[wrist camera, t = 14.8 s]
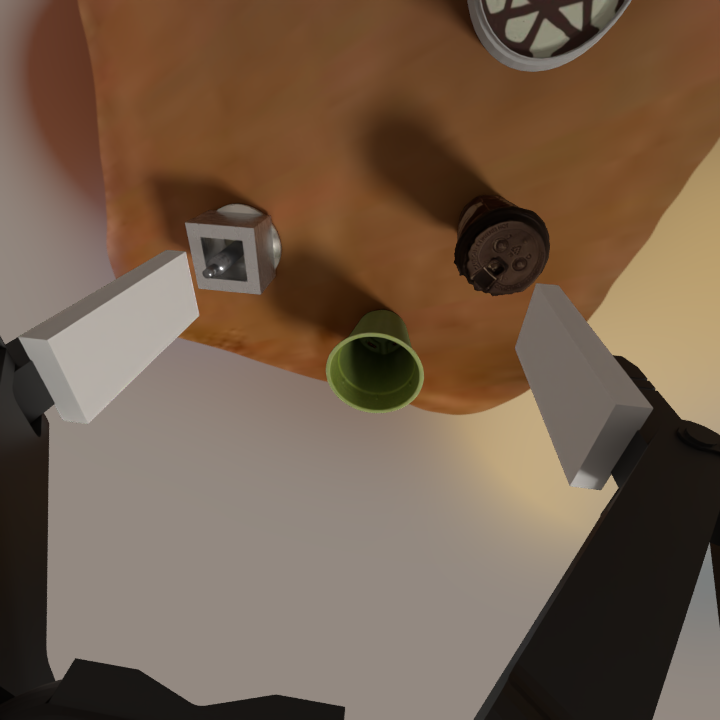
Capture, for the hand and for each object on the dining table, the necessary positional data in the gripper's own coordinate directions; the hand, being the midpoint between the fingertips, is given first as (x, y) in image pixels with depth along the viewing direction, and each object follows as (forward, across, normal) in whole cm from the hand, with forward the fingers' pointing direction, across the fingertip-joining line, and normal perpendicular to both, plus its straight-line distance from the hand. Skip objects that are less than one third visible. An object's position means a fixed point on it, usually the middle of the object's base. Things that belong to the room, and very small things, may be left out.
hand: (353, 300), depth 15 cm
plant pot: (+35, 0, -21) cm, 41 cm away
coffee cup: (+35, +11, -5) cm, 37 cm away
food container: (+35, +10, +12) cm, 38 cm away
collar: (+34, -19, -10) cm, 40 cm away
